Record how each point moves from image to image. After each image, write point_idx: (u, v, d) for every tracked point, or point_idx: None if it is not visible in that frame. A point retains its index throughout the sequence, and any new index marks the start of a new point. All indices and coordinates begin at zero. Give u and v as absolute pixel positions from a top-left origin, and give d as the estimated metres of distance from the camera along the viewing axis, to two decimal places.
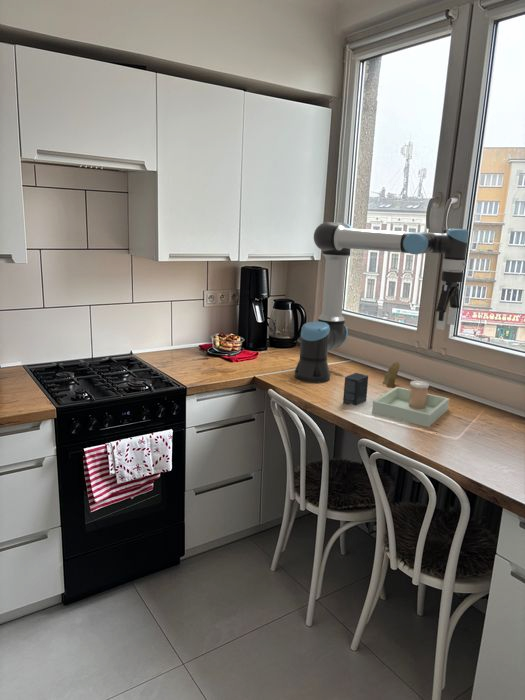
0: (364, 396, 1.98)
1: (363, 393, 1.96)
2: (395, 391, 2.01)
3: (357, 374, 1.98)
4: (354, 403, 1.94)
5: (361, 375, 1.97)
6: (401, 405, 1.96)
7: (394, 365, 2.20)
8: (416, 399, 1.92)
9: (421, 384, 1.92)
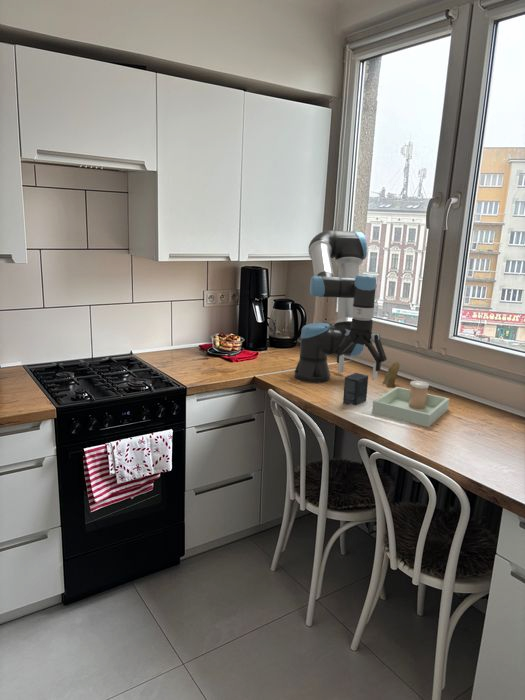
0: (364, 396, 1.98)
1: (363, 393, 1.96)
2: (395, 391, 2.01)
3: (357, 374, 1.98)
4: (354, 403, 1.94)
5: (361, 375, 1.97)
6: (401, 405, 1.96)
7: (394, 365, 2.20)
8: (416, 399, 1.92)
9: (421, 384, 1.92)
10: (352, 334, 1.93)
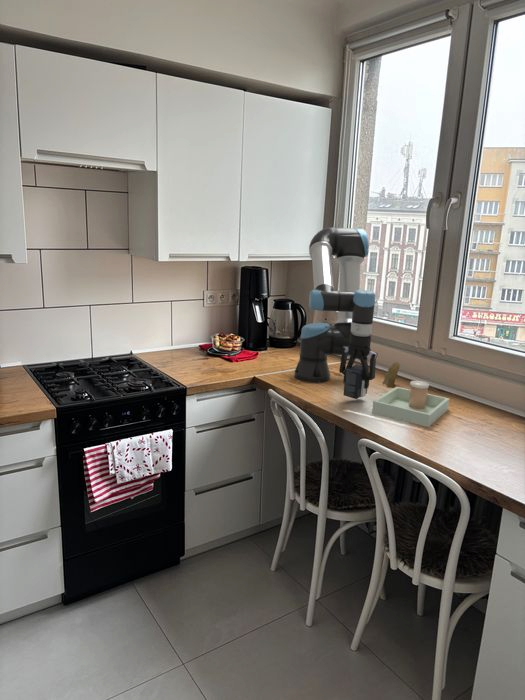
0: None
1: None
2: (395, 391, 2.01)
3: (358, 366, 1.98)
4: (355, 395, 1.94)
5: None
6: (401, 405, 1.96)
7: (394, 365, 2.20)
8: (416, 399, 1.92)
9: (421, 384, 1.92)
10: (351, 348, 1.94)
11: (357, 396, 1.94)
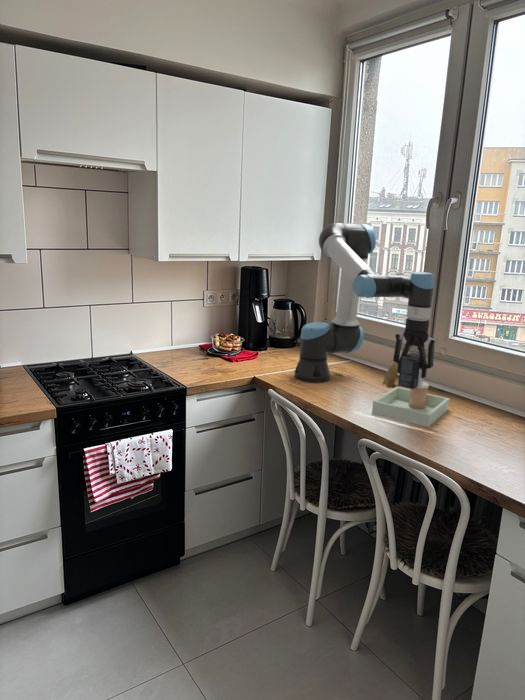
0: None
1: None
2: (395, 391, 2.01)
3: (413, 354, 1.84)
4: (411, 385, 1.80)
5: (418, 355, 1.83)
6: (401, 405, 1.96)
7: (394, 365, 2.20)
8: (416, 399, 1.92)
9: None
10: (407, 335, 1.81)
11: (414, 386, 1.80)
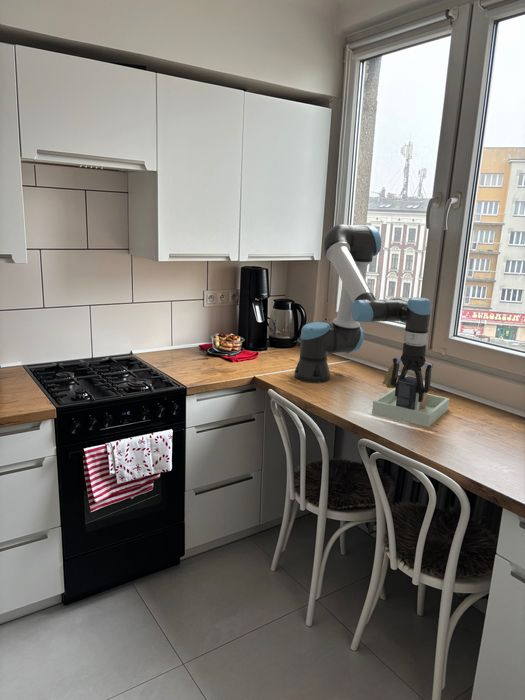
0: None
1: None
2: None
3: (410, 378, 1.86)
4: None
5: (415, 379, 1.85)
6: None
7: None
8: None
9: None
10: (404, 359, 1.83)
11: None
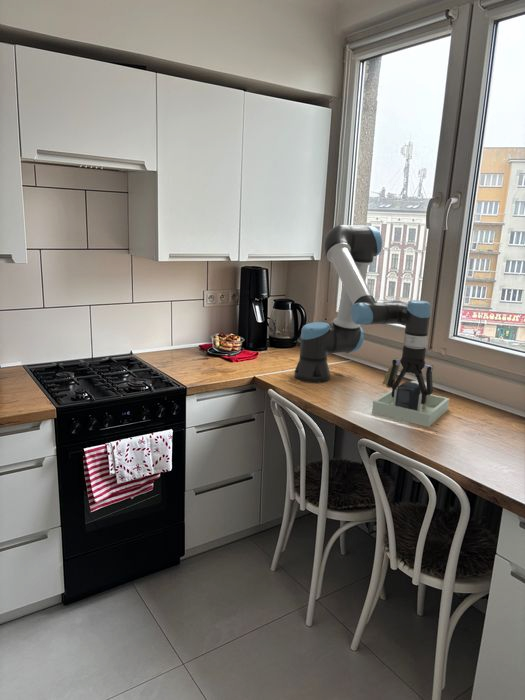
0: (417, 406, 1.87)
1: (416, 403, 1.85)
2: None
3: (409, 383, 1.87)
4: None
5: (414, 384, 1.86)
6: None
7: None
8: None
9: None
10: (403, 362, 1.83)
11: None
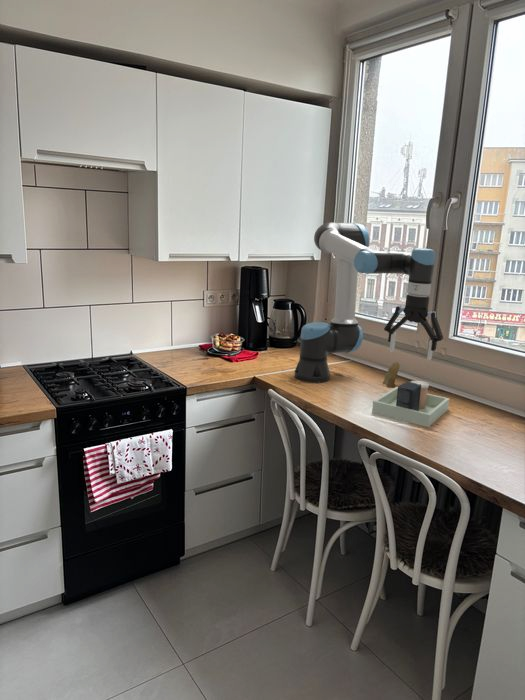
0: (417, 406, 1.87)
1: (416, 403, 1.85)
2: (395, 391, 2.01)
3: (409, 383, 1.87)
4: None
5: (414, 384, 1.86)
6: None
7: (394, 365, 2.20)
8: None
9: (421, 384, 1.92)
10: (406, 311, 1.83)
11: None
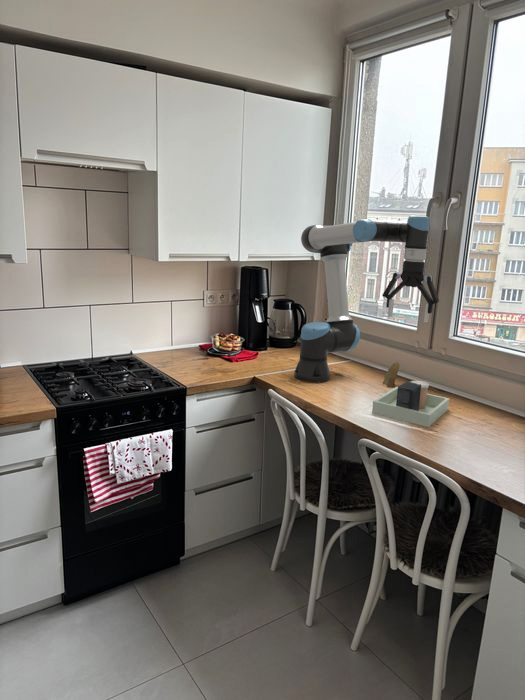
0: (417, 406, 1.87)
1: (416, 403, 1.85)
2: (395, 391, 2.01)
3: (409, 383, 1.87)
4: None
5: (414, 384, 1.86)
6: None
7: (394, 365, 2.20)
8: None
9: (421, 384, 1.92)
10: (403, 277, 1.91)
11: None
